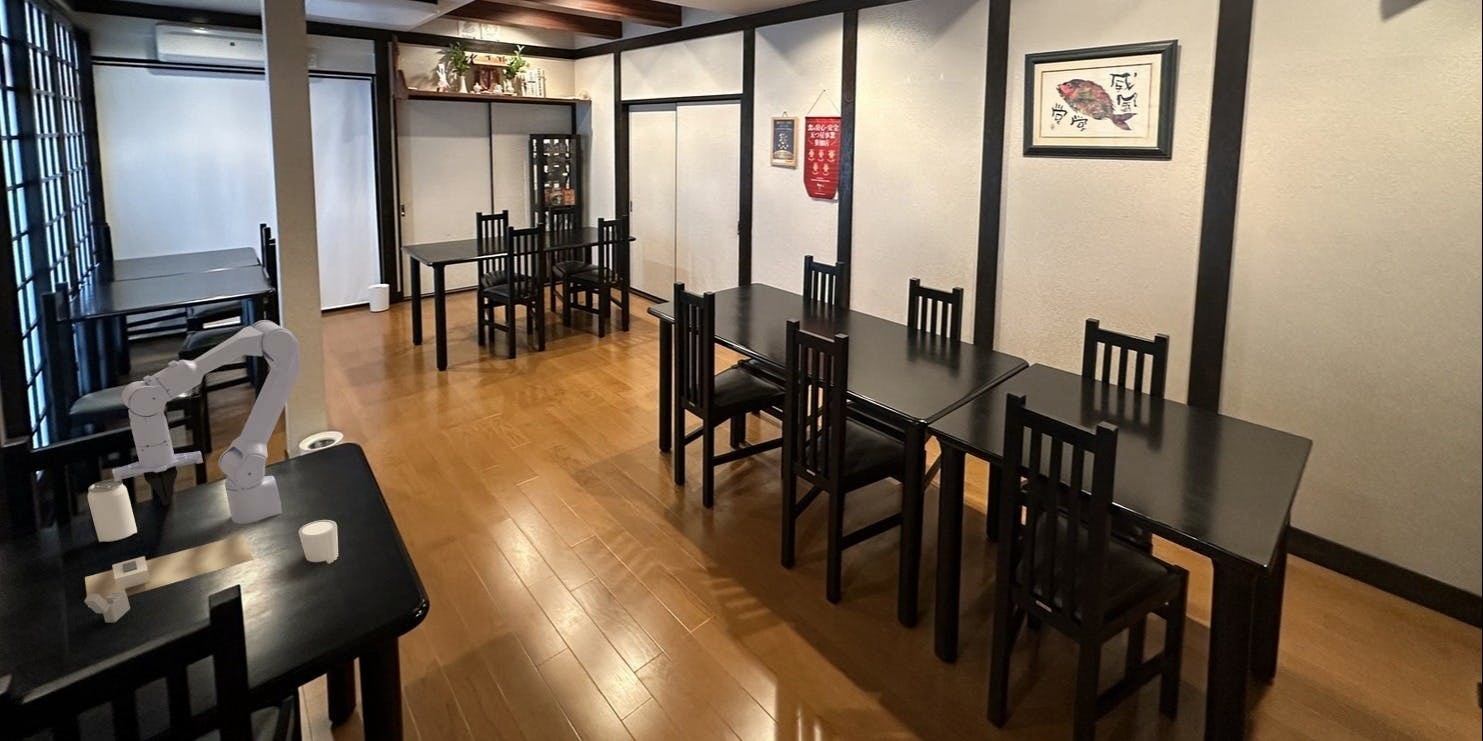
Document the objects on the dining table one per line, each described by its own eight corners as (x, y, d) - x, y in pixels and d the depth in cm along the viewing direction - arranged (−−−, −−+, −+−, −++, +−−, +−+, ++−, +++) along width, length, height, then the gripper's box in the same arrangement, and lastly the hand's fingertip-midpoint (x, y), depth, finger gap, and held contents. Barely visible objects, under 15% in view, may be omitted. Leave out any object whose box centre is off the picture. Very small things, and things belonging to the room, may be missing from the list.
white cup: (303, 571, 158) (298, 539, 156) (303, 554, 164) (298, 523, 162) (342, 562, 162) (337, 531, 159) (340, 546, 167) (336, 516, 165)
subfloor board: (243, 538, 169) (242, 534, 169) (254, 563, 160) (253, 559, 160) (86, 581, 153) (84, 577, 153) (89, 612, 145) (88, 607, 144)
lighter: (122, 612, 145) (112, 574, 142) (132, 612, 145) (122, 574, 142) (93, 638, 138) (82, 598, 135) (104, 638, 138) (93, 598, 135)
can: (117, 547, 165) (103, 494, 161) (91, 543, 166) (76, 490, 162) (145, 531, 171) (133, 480, 167) (119, 527, 172) (106, 476, 168)
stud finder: (147, 567, 157) (144, 554, 156) (150, 581, 152) (147, 568, 151) (115, 576, 154) (111, 563, 153) (117, 590, 149) (114, 577, 148)
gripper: (108, 457, 152) (124, 521, 156) (199, 438, 161) (212, 499, 165) (106, 445, 157) (121, 507, 162) (194, 427, 166) (206, 487, 170)
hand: (167, 502), depth 164 cm, fingers closed
